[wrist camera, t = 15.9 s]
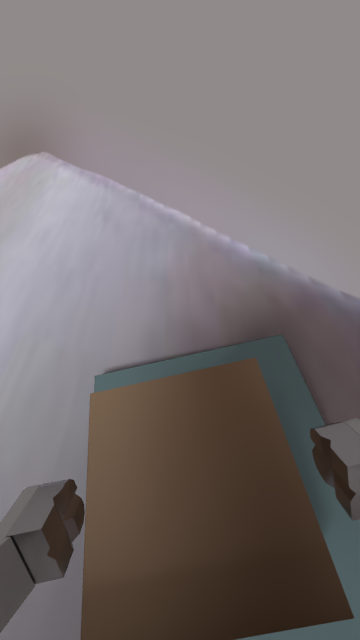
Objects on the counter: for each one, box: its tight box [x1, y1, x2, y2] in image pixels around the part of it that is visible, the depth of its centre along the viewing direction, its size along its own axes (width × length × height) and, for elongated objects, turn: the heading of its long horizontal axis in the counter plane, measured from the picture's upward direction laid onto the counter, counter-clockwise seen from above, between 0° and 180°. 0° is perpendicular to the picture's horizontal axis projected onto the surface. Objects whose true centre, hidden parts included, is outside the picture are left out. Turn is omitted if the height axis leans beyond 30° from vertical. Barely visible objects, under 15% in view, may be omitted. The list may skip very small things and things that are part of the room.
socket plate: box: [94, 334, 360, 640], centre depth 15 cm, size 16×16×3 cm
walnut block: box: [81, 357, 354, 640], centre depth 10 cm, size 4×4×12 cm
